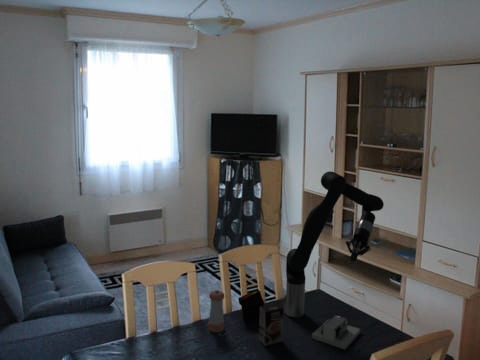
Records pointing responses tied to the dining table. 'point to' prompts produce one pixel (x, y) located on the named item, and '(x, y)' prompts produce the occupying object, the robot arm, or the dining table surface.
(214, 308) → the pepper shaker
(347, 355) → the dining table surface
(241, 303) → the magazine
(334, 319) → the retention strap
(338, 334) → the heat sink
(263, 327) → the coffee box
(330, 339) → the grey square stand
